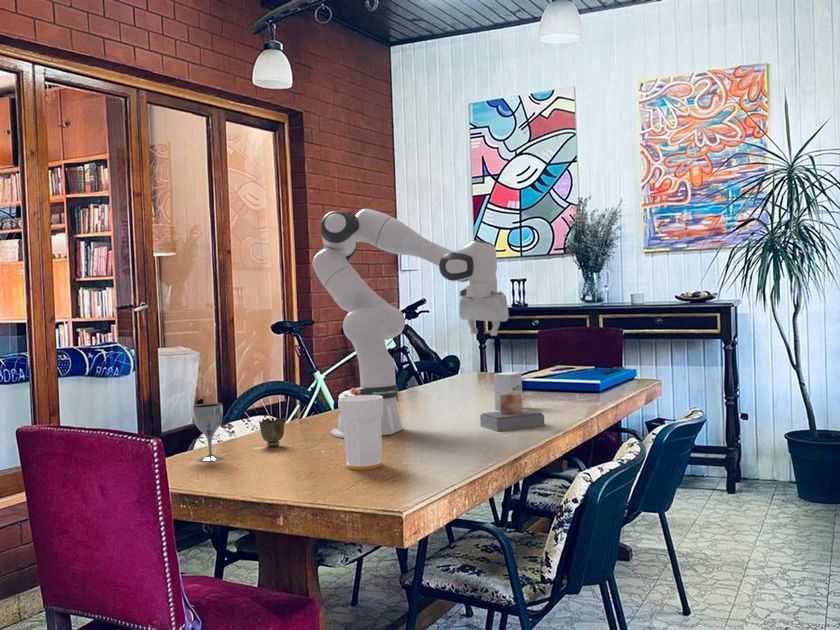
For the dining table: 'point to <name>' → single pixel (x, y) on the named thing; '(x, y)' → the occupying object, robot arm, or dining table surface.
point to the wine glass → (208, 424)
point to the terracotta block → (510, 403)
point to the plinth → (512, 420)
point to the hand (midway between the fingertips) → (483, 334)
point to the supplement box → (507, 385)
